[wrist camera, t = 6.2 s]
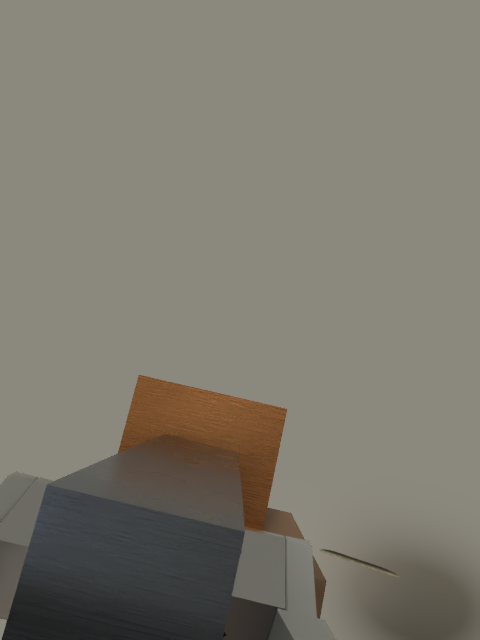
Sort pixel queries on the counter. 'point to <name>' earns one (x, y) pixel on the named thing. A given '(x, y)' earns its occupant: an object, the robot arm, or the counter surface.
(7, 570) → the robot arm
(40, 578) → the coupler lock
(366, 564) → the counter surface
